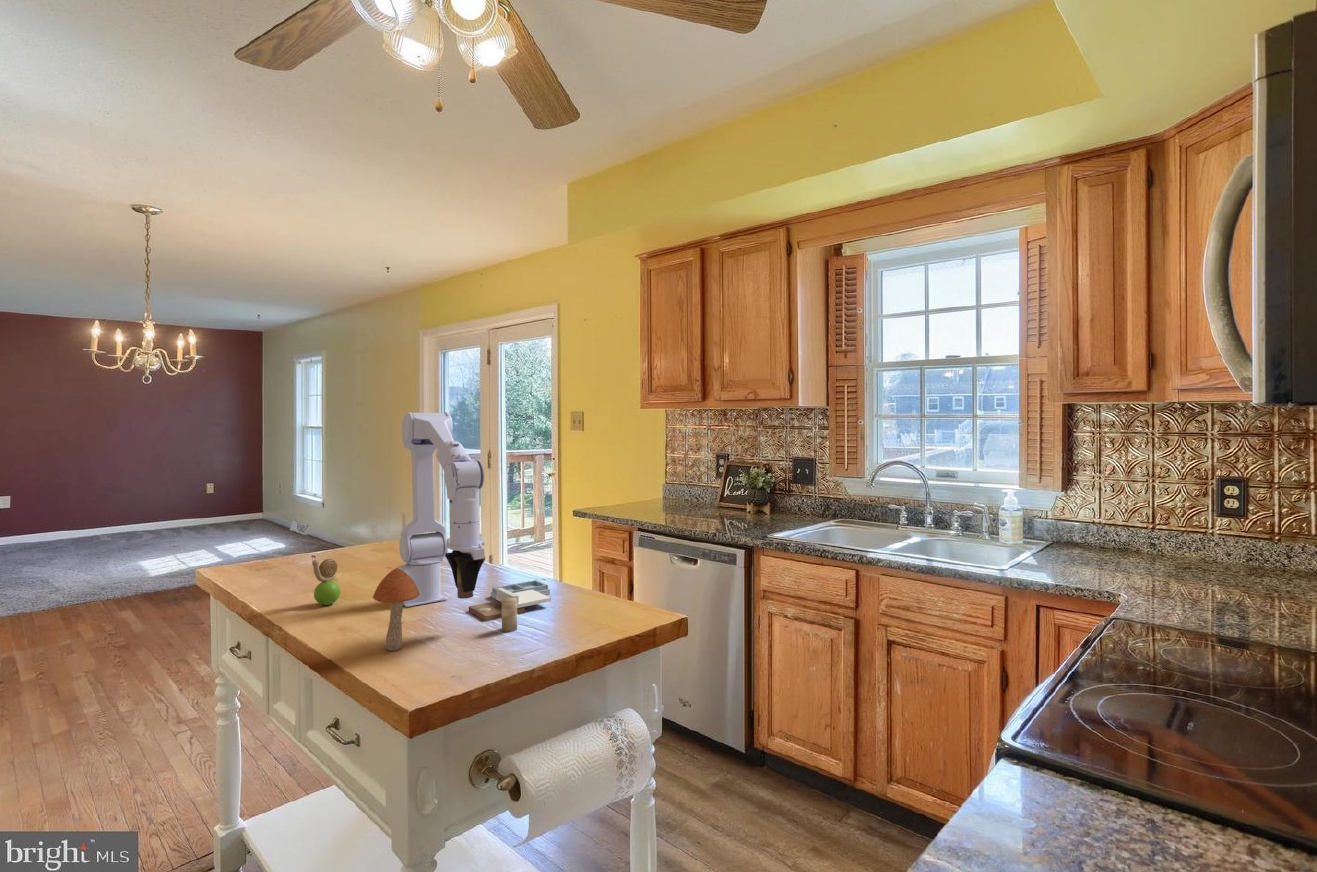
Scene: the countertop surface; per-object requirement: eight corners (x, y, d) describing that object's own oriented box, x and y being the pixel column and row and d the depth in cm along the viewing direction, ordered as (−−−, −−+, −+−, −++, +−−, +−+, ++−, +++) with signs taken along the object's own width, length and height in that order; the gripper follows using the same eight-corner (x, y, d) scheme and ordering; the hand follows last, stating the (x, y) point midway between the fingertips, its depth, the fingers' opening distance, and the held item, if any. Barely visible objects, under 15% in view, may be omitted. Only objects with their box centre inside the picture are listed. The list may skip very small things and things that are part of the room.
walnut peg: (461, 599, 127) (461, 569, 127) (454, 596, 129) (454, 566, 129) (475, 596, 129) (475, 566, 129) (469, 593, 131) (468, 564, 131)
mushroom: (429, 643, 121) (428, 564, 121) (399, 658, 114) (398, 574, 113) (395, 639, 124) (394, 561, 124) (363, 653, 116) (362, 571, 116)
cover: (514, 608, 139) (514, 596, 139) (496, 599, 146) (496, 588, 146) (551, 601, 145) (550, 589, 145) (532, 592, 152) (531, 581, 152)
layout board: (485, 620, 135) (485, 615, 135) (468, 610, 142) (468, 606, 142) (524, 612, 141) (524, 607, 141) (506, 603, 148) (506, 598, 148)
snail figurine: (304, 607, 145) (303, 554, 144) (328, 600, 151) (328, 549, 150) (322, 610, 143) (321, 556, 142) (346, 602, 149) (345, 550, 148)
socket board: (503, 603, 148) (503, 593, 148) (490, 596, 153) (490, 587, 153) (549, 594, 155) (549, 585, 155) (535, 588, 161) (535, 579, 161)
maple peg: (505, 632, 128) (505, 602, 127) (499, 628, 130) (499, 599, 130) (519, 629, 129) (519, 600, 129) (513, 625, 132) (512, 596, 132)
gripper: (499, 524, 125) (499, 593, 126) (469, 515, 137) (470, 578, 137) (463, 528, 121) (464, 599, 121) (436, 518, 132) (437, 584, 133)
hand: (465, 589), depth 129 cm, fingers closed on walnut peg, 3 cm apart
